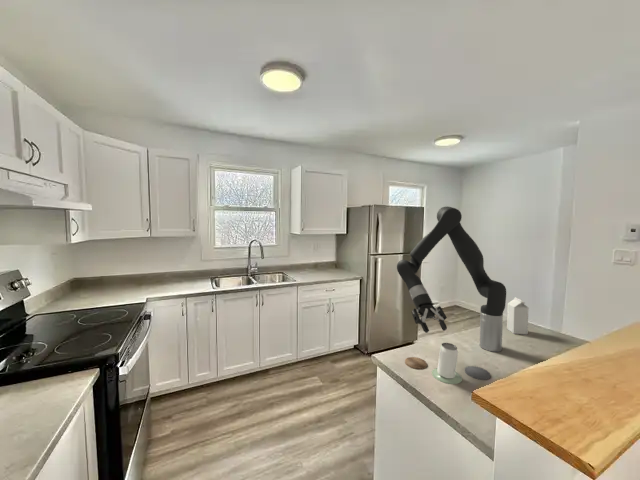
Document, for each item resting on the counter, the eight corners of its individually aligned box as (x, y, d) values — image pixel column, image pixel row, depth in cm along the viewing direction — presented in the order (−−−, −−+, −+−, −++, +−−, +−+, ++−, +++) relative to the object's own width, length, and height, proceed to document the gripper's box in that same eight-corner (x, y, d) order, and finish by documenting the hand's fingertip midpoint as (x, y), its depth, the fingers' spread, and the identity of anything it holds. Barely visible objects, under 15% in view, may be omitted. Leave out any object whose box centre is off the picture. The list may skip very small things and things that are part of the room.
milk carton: (513, 334, 149) (514, 300, 148) (506, 329, 156) (507, 296, 155) (527, 334, 148) (528, 300, 147) (520, 329, 155) (521, 297, 154)
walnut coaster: (413, 357, 124) (414, 355, 124) (431, 365, 117) (431, 363, 117) (400, 362, 119) (400, 360, 119) (417, 372, 112) (417, 369, 112)
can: (455, 381, 104) (459, 352, 103) (437, 376, 106) (441, 348, 105) (453, 371, 110) (457, 344, 109) (436, 367, 112) (439, 340, 111)
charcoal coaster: (471, 366, 116) (472, 363, 116) (494, 375, 109) (494, 373, 109) (460, 372, 111) (460, 370, 111) (483, 383, 104) (483, 380, 104)
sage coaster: (443, 367, 116) (443, 365, 116) (468, 380, 106) (468, 378, 106) (425, 374, 111) (425, 371, 111) (449, 388, 101) (449, 386, 101)
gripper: (409, 294, 120) (425, 328, 109) (437, 291, 123) (455, 325, 113) (403, 302, 125) (417, 336, 115) (430, 300, 129) (446, 333, 118)
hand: (436, 331), depth 114 cm, fingers open, 8 cm apart
